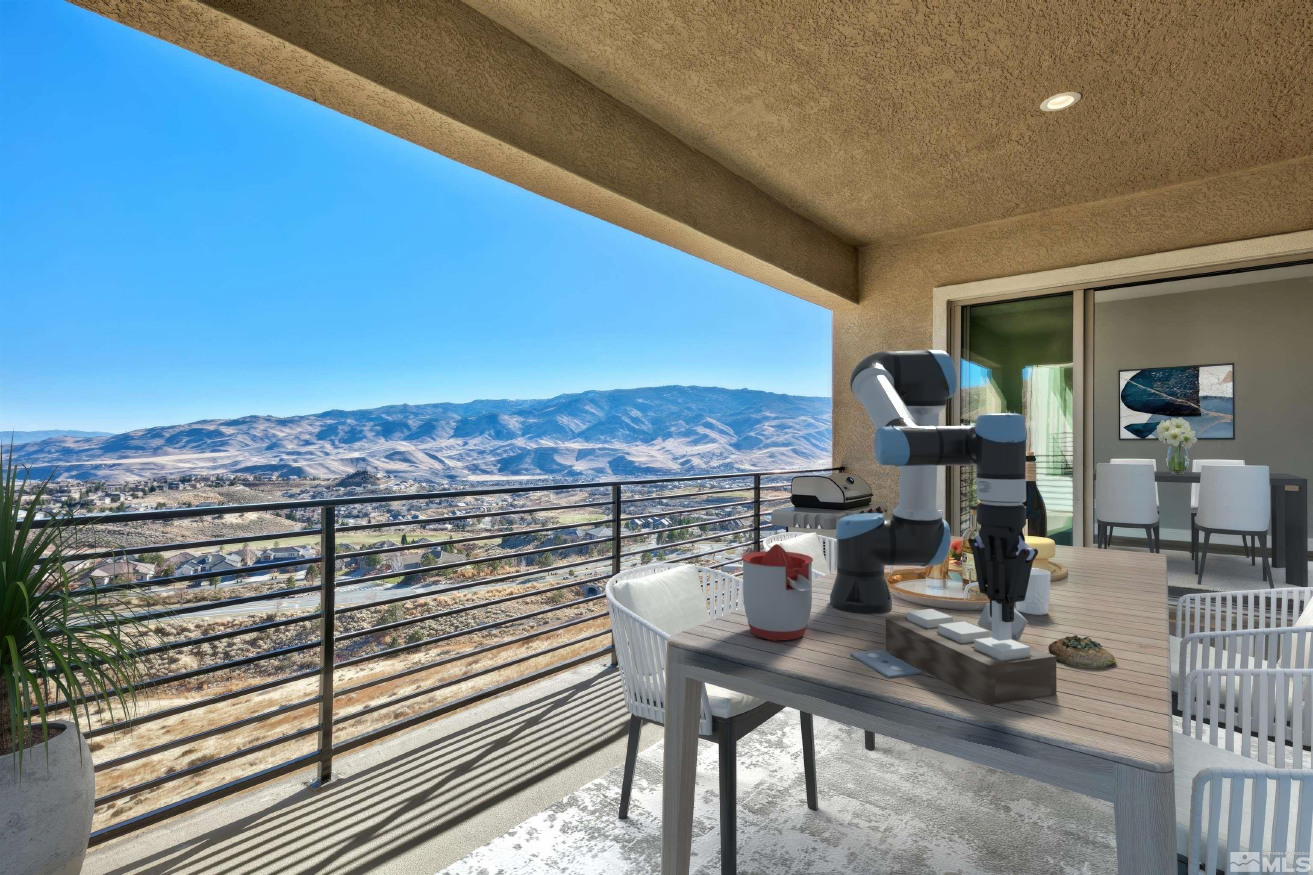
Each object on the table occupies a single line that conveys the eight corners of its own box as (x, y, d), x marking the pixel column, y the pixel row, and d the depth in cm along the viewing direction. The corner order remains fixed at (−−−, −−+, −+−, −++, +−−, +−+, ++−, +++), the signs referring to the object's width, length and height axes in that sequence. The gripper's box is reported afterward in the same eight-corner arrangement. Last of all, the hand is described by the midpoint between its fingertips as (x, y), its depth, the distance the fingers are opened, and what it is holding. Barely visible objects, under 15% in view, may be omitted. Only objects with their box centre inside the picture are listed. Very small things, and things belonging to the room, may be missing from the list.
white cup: (1058, 615, 151) (1057, 574, 151) (1025, 615, 151) (1024, 574, 151) (1038, 606, 159) (1038, 567, 158) (1007, 606, 159) (1006, 567, 158)
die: (1024, 653, 128) (1040, 611, 130) (984, 630, 129) (1000, 589, 132) (1003, 654, 135) (1018, 614, 138) (965, 633, 137) (981, 594, 140)
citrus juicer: (774, 652, 128) (773, 554, 128) (729, 628, 144) (728, 541, 143) (834, 640, 135) (833, 547, 134) (784, 619, 150) (783, 535, 150)
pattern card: (850, 655, 126) (850, 652, 126) (881, 651, 128) (881, 649, 128) (888, 677, 114) (888, 675, 114) (921, 673, 116) (921, 670, 116)
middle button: (938, 639, 120) (938, 624, 119) (964, 636, 121) (964, 621, 121) (961, 650, 114) (961, 634, 114) (988, 646, 115) (988, 630, 115)
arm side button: (907, 625, 128) (907, 611, 128) (931, 623, 130) (931, 608, 130) (927, 635, 122) (927, 619, 122) (952, 632, 124) (952, 616, 124)
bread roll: (1051, 644, 131) (1055, 621, 130) (1116, 664, 124) (1121, 640, 123) (1042, 662, 122) (1046, 637, 122) (1112, 684, 115) (1116, 658, 114)
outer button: (974, 656, 111) (974, 639, 111) (1001, 652, 113) (1001, 635, 112) (1001, 668, 105) (1001, 650, 105) (1030, 664, 107) (1030, 646, 107)
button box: (885, 649, 129) (885, 618, 128) (942, 642, 132) (942, 612, 132) (989, 704, 103) (989, 665, 103) (1056, 694, 106) (1056, 656, 106)
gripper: (955, 499, 114) (956, 629, 114) (1014, 507, 101) (1015, 653, 101) (989, 498, 116) (989, 625, 116) (1051, 505, 103) (1052, 648, 103)
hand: (1001, 638), depth 109 cm, fingers closed
